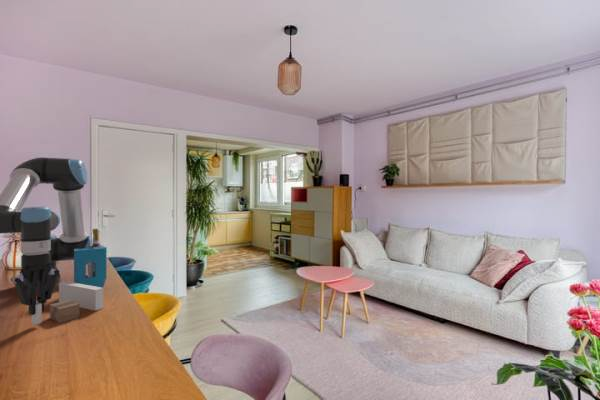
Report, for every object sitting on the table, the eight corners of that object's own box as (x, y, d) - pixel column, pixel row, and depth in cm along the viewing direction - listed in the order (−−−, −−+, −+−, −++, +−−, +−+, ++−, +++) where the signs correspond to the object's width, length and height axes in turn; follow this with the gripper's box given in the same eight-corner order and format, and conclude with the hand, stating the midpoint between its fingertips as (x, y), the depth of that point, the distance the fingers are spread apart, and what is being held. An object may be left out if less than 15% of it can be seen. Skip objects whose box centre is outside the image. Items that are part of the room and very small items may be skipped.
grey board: (59, 302, 125) (58, 283, 124) (66, 300, 127) (66, 281, 127) (95, 310, 116) (95, 290, 116) (103, 308, 119) (103, 287, 119)
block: (74, 296, 132) (73, 250, 132) (74, 293, 136) (74, 249, 136) (106, 291, 139) (106, 248, 139) (105, 288, 143) (105, 246, 143)
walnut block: (50, 318, 110) (50, 304, 110) (69, 312, 115) (69, 299, 115) (59, 323, 105) (59, 309, 105) (79, 317, 110) (79, 304, 110)
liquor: (106, 284, 150) (106, 227, 149) (104, 288, 143) (104, 229, 143) (88, 286, 147) (88, 228, 146) (85, 290, 140) (85, 230, 140)
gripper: (19, 257, 94) (19, 333, 95) (64, 250, 106) (65, 317, 107) (5, 255, 97) (5, 328, 97) (51, 248, 109) (51, 314, 109)
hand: (36, 322), depth 102 cm, fingers closed
